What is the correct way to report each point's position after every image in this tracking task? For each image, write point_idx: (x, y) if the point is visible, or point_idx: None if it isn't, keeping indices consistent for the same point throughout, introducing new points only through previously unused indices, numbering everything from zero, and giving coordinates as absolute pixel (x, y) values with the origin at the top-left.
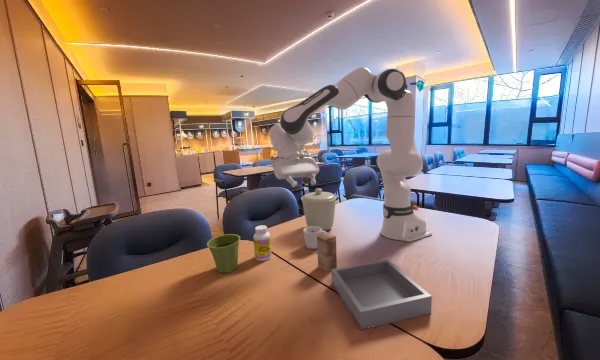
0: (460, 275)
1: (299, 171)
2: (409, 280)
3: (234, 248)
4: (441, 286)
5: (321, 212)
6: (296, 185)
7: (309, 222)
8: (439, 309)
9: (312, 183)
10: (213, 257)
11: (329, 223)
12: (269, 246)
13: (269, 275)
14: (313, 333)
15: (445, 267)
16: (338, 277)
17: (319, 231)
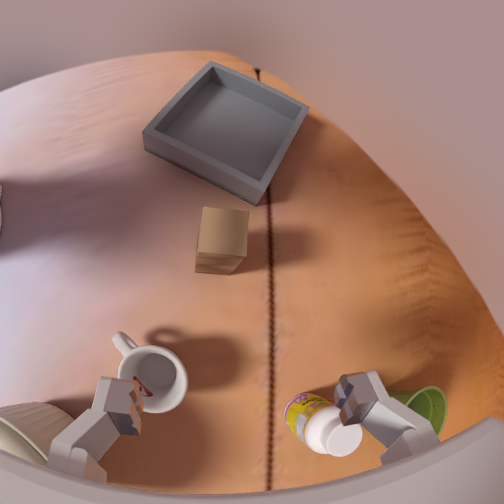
0: (90, 82)
1: (310, 501)
2: (192, 84)
3: (407, 394)
4: (135, 85)
5: (48, 430)
6: (353, 373)
7: None
8: (192, 75)
9: (137, 397)
10: (420, 411)
11: (40, 404)
12: (308, 403)
13: (334, 327)
14: (348, 163)
15: (74, 101)
16: (275, 165)
17: (146, 346)
